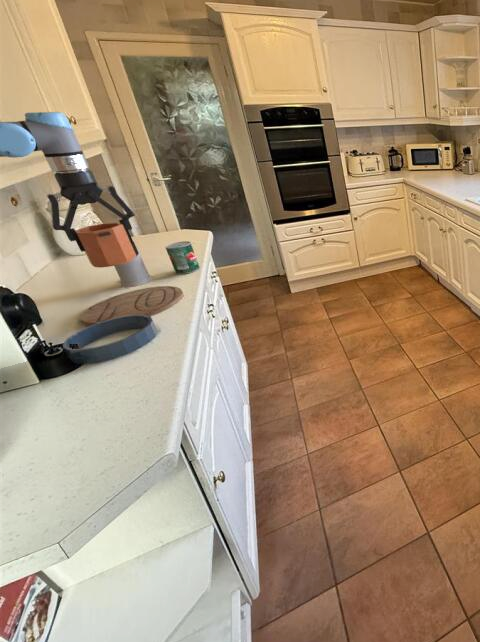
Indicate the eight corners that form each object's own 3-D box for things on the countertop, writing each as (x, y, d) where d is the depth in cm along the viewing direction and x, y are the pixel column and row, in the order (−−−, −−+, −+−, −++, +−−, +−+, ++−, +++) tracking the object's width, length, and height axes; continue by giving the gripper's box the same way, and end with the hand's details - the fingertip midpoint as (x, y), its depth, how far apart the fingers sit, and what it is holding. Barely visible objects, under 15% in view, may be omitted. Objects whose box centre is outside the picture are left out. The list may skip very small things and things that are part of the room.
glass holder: (118, 288, 142) (100, 250, 136) (129, 275, 154) (112, 239, 148) (149, 283, 146) (132, 245, 140) (157, 270, 158) (142, 234, 151)
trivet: (77, 338, 112) (73, 332, 112) (88, 306, 130) (85, 301, 129) (185, 309, 127) (183, 304, 126) (182, 284, 145) (181, 279, 144)
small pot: (141, 260, 122) (126, 226, 117) (97, 271, 114) (79, 235, 110) (130, 252, 129) (116, 220, 125) (88, 262, 122) (71, 228, 117)
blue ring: (54, 373, 98) (43, 354, 96) (103, 335, 113) (95, 319, 111) (135, 362, 101) (126, 344, 99) (172, 327, 117) (165, 311, 114)
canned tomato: (173, 271, 156) (162, 245, 152) (197, 265, 162) (187, 239, 157) (178, 276, 152) (167, 249, 147) (202, 269, 157) (193, 243, 153)
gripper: (12, 178, 100) (55, 259, 109) (128, 166, 117) (157, 237, 126) (9, 176, 104) (51, 254, 113) (122, 164, 121) (150, 233, 130)
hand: (107, 245), depth 120 cm, fingers closed on small pot, 10 cm apart
